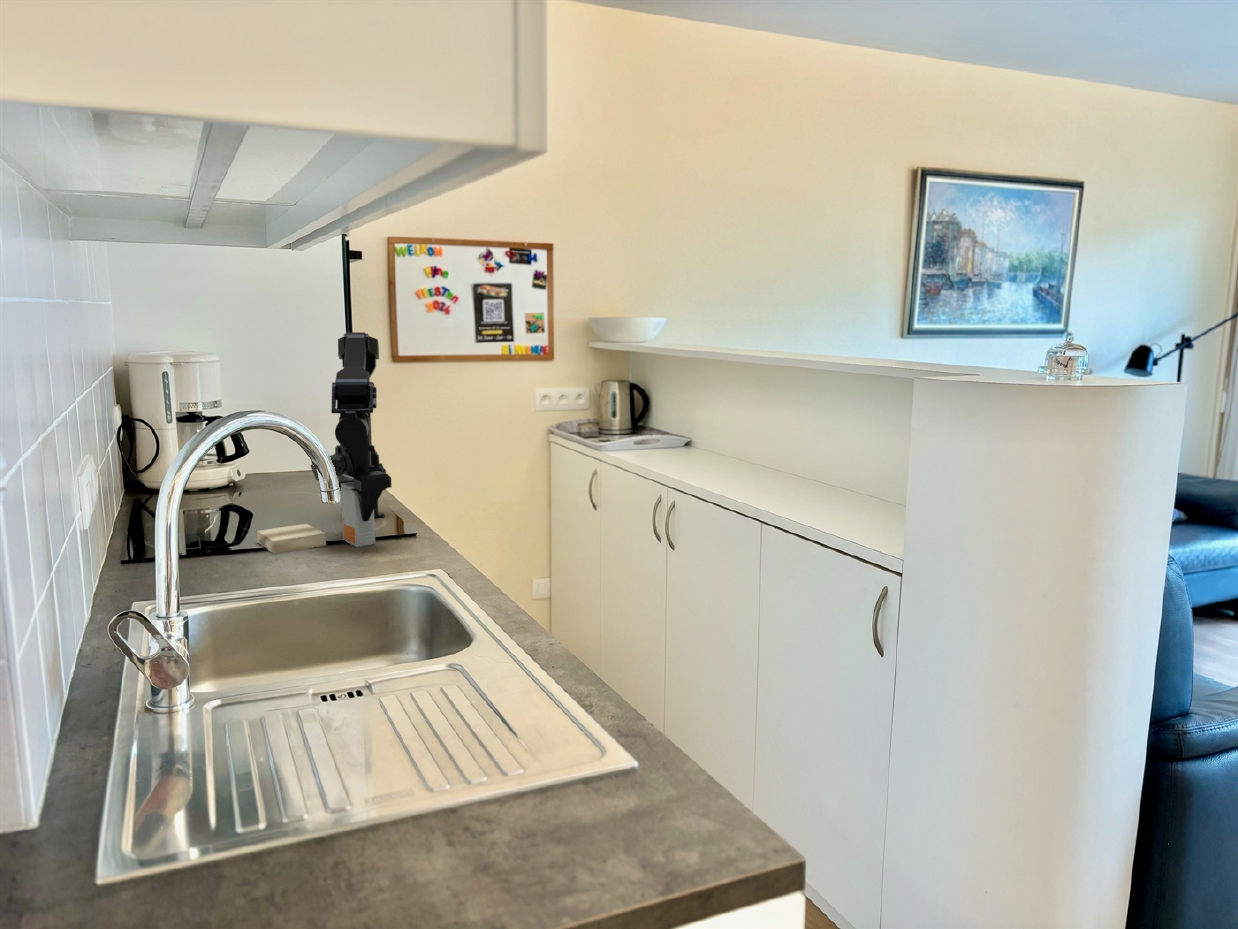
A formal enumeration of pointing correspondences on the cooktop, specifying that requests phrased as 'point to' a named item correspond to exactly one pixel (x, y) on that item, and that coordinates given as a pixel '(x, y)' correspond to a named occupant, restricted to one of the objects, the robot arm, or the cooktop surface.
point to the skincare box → (355, 519)
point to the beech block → (291, 538)
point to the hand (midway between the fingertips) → (358, 518)
